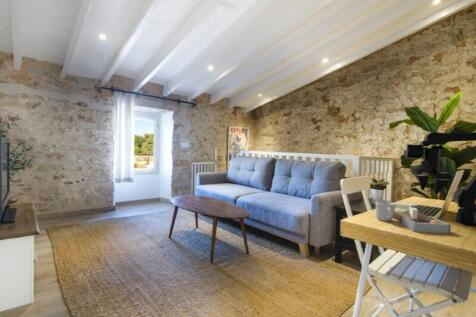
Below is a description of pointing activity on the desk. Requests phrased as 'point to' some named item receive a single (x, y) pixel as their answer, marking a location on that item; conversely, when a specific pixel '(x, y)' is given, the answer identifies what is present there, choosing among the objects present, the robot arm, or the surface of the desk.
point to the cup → (385, 210)
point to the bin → (427, 226)
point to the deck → (420, 217)
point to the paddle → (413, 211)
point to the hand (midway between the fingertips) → (429, 191)
